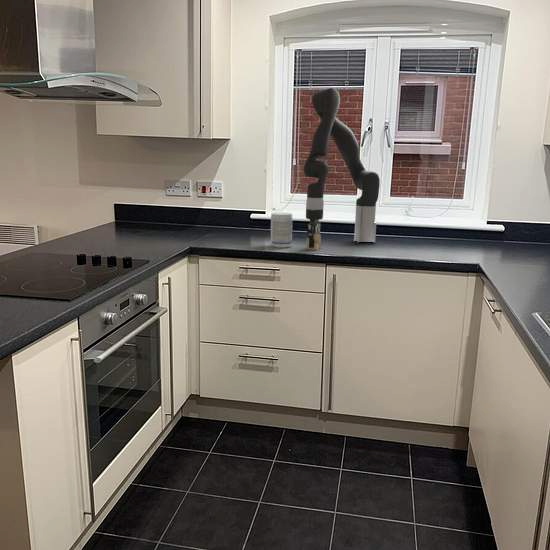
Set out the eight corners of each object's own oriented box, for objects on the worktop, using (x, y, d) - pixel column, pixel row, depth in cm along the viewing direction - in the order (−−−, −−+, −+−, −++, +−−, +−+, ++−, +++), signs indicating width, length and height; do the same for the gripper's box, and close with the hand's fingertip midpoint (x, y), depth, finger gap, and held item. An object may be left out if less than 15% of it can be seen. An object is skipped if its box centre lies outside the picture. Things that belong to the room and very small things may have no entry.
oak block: (309, 247, 260) (309, 233, 258) (320, 248, 258) (320, 234, 257) (306, 249, 255) (306, 235, 254) (317, 250, 254) (317, 236, 252)
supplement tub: (295, 247, 259) (296, 214, 256) (276, 248, 255) (277, 215, 252) (285, 243, 267) (286, 211, 264) (266, 245, 263) (267, 212, 260)
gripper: (311, 205, 260) (309, 243, 264) (301, 209, 247) (300, 248, 251) (327, 206, 258) (325, 244, 262) (318, 210, 245) (317, 250, 249)
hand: (313, 246), depth 256 cm, fingers closed on oak block, 5 cm apart
